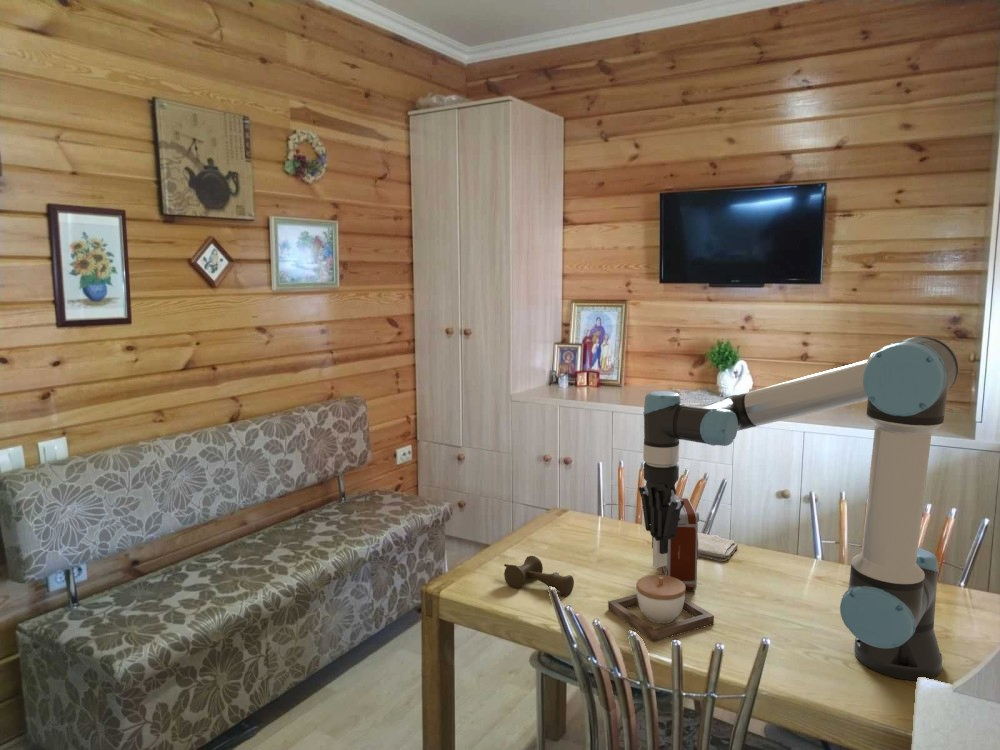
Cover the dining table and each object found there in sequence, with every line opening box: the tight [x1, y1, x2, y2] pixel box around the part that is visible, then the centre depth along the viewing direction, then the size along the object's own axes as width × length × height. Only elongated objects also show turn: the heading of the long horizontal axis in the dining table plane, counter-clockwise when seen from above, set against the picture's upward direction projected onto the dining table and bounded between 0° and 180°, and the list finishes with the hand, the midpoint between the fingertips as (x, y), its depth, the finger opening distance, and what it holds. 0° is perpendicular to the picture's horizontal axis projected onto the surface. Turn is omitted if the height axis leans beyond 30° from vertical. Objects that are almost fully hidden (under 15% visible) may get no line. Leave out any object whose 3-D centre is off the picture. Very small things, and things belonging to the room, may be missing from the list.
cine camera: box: [660, 495, 700, 592], centre depth 181 cm, size 9×19×20 cm, turn 174°
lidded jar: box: [636, 574, 686, 624], centre depth 161 cm, size 11×11×9 cm
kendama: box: [503, 555, 575, 597], centre depth 179 cm, size 6×10×20 cm
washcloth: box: [698, 532, 739, 562], centre depth 199 cm, size 12×18×3 cm, turn 58°
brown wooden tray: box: [607, 593, 715, 643], centre depth 162 cm, size 16×16×2 cm
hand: (659, 565), depth 160 cm, fingers closed
